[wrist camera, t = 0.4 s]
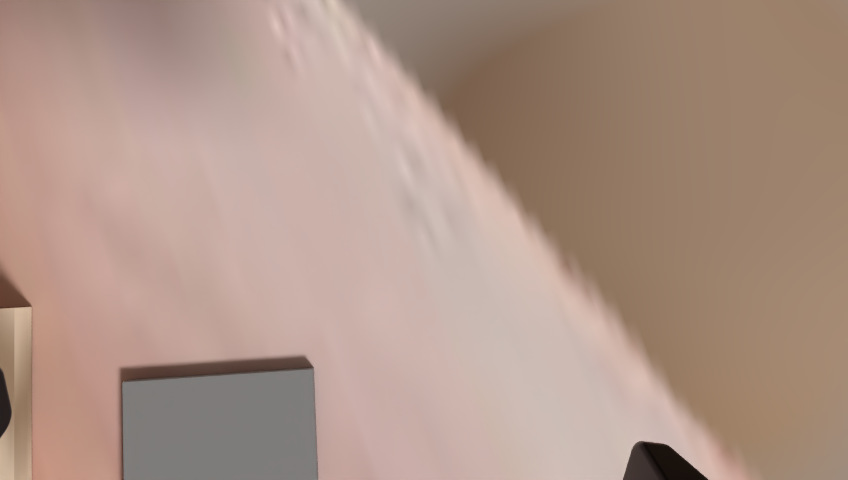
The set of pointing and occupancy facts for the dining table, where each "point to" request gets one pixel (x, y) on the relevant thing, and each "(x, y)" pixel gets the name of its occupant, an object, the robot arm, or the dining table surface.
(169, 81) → the dining table surface
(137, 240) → the dining table surface
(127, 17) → the dining table surface
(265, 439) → the mat
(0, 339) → the rack
